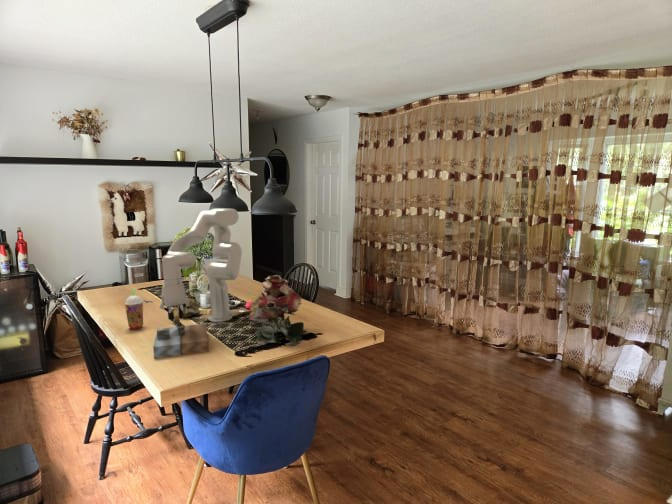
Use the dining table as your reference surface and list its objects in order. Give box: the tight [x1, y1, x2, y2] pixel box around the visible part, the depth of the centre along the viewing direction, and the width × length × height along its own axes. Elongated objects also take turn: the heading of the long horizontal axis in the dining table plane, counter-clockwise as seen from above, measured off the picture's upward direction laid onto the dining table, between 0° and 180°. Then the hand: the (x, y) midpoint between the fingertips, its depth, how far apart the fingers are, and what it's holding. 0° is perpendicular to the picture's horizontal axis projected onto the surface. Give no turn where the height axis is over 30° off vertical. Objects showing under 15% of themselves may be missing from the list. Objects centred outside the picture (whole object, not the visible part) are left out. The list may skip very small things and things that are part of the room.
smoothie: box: [124, 289, 144, 330], centre depth 214 cm, size 8×8×20 cm
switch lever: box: [171, 307, 186, 329], centre depth 193 cm, size 11×4×7 cm, turn 36°
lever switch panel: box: [152, 323, 209, 359], centre depth 191 cm, size 22×24×9 cm
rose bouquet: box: [248, 274, 305, 347], centre depth 200 cm, size 26×29×30 cm
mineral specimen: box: [175, 297, 201, 318], centre depth 234 cm, size 14×13×10 cm
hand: (175, 318), depth 197 cm, fingers closed on switch lever, 3 cm apart
